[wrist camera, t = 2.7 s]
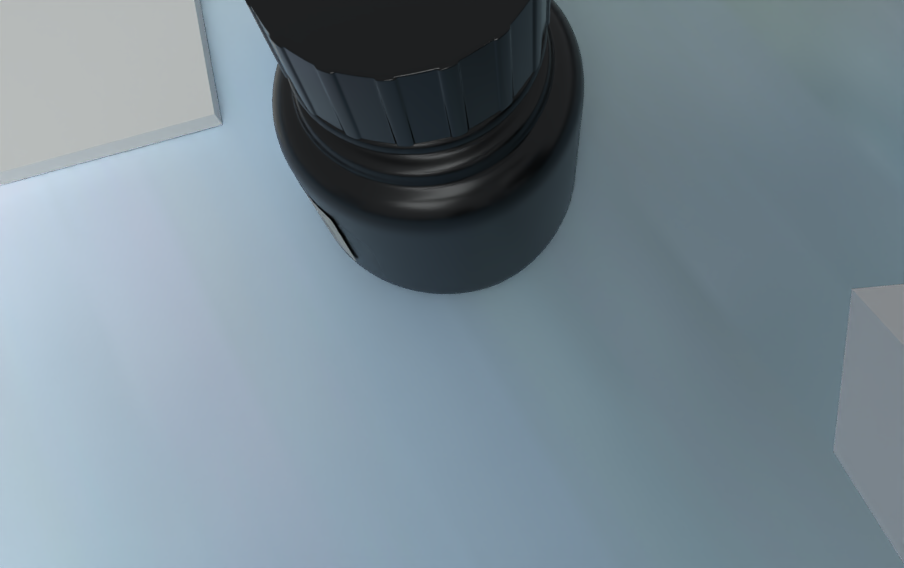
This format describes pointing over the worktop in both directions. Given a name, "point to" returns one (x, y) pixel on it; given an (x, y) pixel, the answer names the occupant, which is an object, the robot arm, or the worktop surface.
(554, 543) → the worktop surface
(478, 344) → the worktop surface
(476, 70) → the ink bottle
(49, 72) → the ceramic tile
